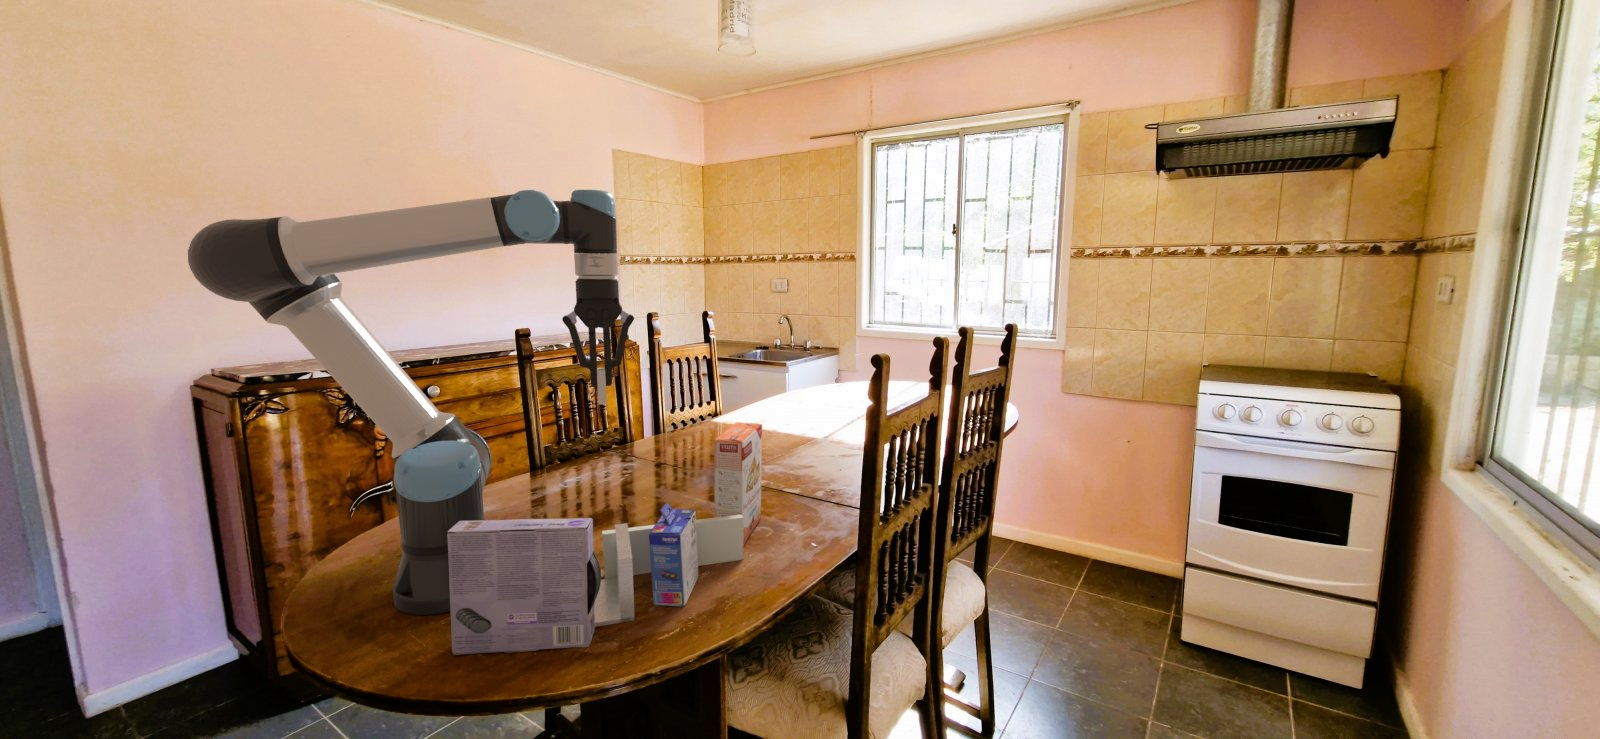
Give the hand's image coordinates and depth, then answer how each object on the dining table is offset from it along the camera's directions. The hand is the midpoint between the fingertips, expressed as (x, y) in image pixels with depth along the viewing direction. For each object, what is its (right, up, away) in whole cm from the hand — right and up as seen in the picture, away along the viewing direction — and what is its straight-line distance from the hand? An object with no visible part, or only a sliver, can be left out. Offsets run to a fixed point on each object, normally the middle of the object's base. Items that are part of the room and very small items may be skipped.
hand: (602, 402), depth 119 cm
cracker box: (+26, -26, +6) cm, 37 cm away
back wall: (+16, -28, -9) cm, 34 cm away
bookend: (+7, -30, -21) cm, 37 cm away
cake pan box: (0, -32, -31) cm, 45 cm away
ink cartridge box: (+17, -30, -17) cm, 38 cm away
